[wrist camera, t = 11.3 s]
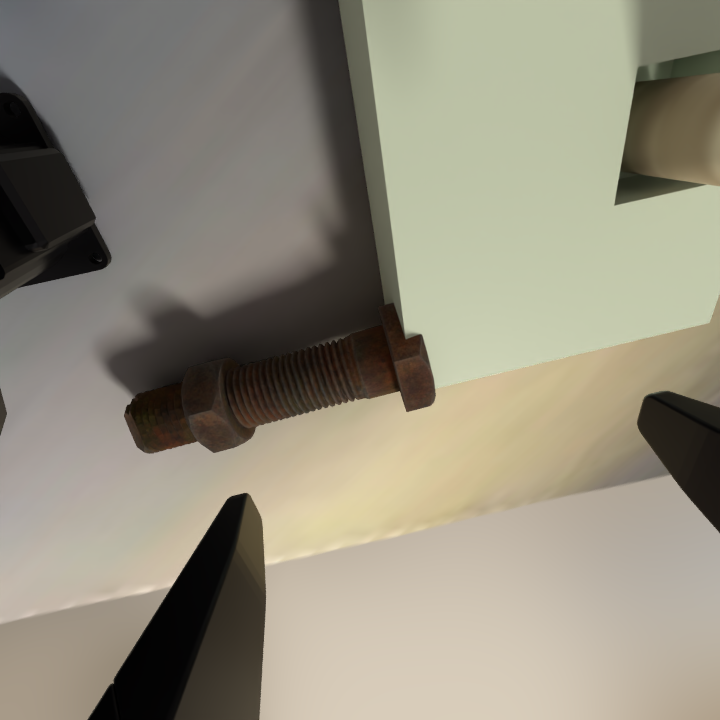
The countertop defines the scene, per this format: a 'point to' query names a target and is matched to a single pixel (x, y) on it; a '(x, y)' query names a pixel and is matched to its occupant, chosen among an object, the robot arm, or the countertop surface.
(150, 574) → the countertop surface
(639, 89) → the pin
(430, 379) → the bolt
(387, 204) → the plinth
